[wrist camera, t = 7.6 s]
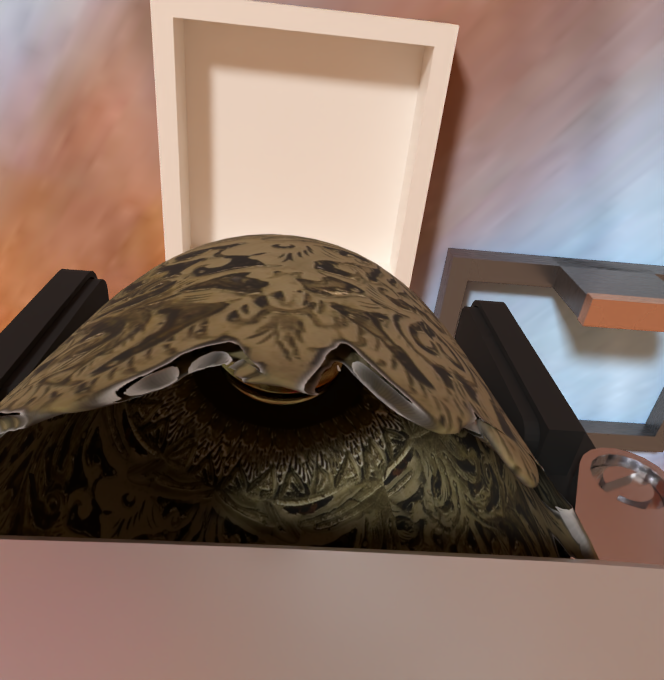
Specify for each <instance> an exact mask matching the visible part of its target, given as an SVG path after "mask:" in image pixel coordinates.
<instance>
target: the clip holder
mask: <svg viewBox="0 0 664 680" xmlns="http://www.w3.org/2000/svg"><path fill="white" fill-rule="evenodd" d="M467 281H478V282H491V283H503V284H516V285H528V286H541V287H553V288H554V289H555V291H556V292H557V293H558V294H559V295H560V297H561V298H562V299H563V300H564V301H565V303H566V304H567V305H568V306H569V307H570V309H571V310H572V311H573V312H574V313H575V315H576V316H577V317H578V319H577V320H578V321H579V322H580V323H581V324H582V326H591V327H604V328H617V329H631V330H644V331H657V332H664V266H656V265H644V264H632V263H620V262H608V261H597V260H585V259H573V258H561V257H549V256H537V255H525V254H513V253H502V252H490V251H478V250H466V249H454V248H448V252H447V257H446V261H445V266H444V270H443V275H442V279H441V284H440V288H439V293H438V297H437V302H436V306H435V311H434V315H435V316H436V317H437V318H438V319H439V320H440V321H441V323H442V324H443V325H444V326H445V327H446V329H447V330H448V331H449V333H450V334H451V335H452V337H454V333H455V329H456V325H457V321H458V317H459V313H460V309H461V305H462V301H463V297H464V293H465V289H466V285H467ZM579 422H580V423H581V425H582V426H583V428H584V429H585V431H586V433H587V435H588V436H589V438H590V439H591V441H592V443H593V444H594V446H595V447H596V448H615V449H620V450H634V451H651V452H663V451H664V388H663V390H662V392H661V394H660V396H659V398H658V400H657V402H656V404H655V406H654V408H653V410H652V412H651V414H650V416H649V418H648V420H647V422H646V424H636V423H620V422H604V421H587V420H579Z"/></svg>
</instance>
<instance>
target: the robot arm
mask: <svg viewBox="0 0 664 680" xmlns="http://www.w3.org/2000/svg"><path fill="white" fill-rule="evenodd" d="M108 301H109V297H108V289H107V284H106V281H105V280H103V279H97V276H96V274H95V273H94V272H93V271H82V270H69V269H61V270H60V271H59V272H58V273H57V274H56V275H55V276H54V277H53V278H52V279H51V280H50V281H49V282H48V283H47V284H46V285H45V286H44V287H43V289H42V290H41V291H40V292H39V293H38V294H37V295H36V296H35V297H34V298H33V299H32V300H31V301H30V302H29V303H28V304H27V306H26V307H25V308H24V309H23V310H22V311H21V312H20V313H19V314H18V315H17V316H16V317H15V318H14V319H13V320H12V321H11V323H10V324H9V325H8V326H7V327H6V328H5V329H4V330H3V331H2V332H1V333H0V402H1V401H2V400H3V399H4V398H5V397H6V396H7V395H8V394H9V393H10V392H11V391H12V390H13V389H14V388H16V387H17V386H18V385H19V384H20V383H21V382H22V381H23V380H24V379H25V378H26V377H27V376H28V375H29V374H30V373H31V372H32V371H33V370H35V369H36V368H37V367H38V366H39V365H40V364H41V363H42V362H43V361H44V360H45V359H46V358H47V357H48V356H49V355H50V354H52V353H53V352H54V351H55V350H56V349H57V348H58V347H59V346H60V345H61V344H62V343H63V342H64V341H65V340H67V339H68V338H69V337H70V336H71V335H72V334H73V333H74V332H75V331H76V330H77V329H78V328H79V327H81V326H82V325H83V324H84V323H85V322H86V321H87V320H88V319H89V318H90V317H91V316H92V315H94V314H95V313H96V312H97V311H98V310H99V309H100V308H101V307H102V306H103V305H105V304H106V303H107V302H108ZM455 340H456V342H457V343H458V345H459V346H460V347H461V349H462V350H463V352H464V353H465V355H466V356H467V358H468V359H469V360H470V362H471V363H472V365H473V366H474V368H475V369H476V371H477V372H478V374H479V375H480V376H481V378H482V379H483V381H484V382H485V384H486V385H487V387H488V388H489V390H490V391H491V393H492V394H493V396H494V397H495V399H496V400H497V402H498V403H499V405H500V406H501V408H502V409H503V411H504V412H505V414H506V415H507V417H508V418H509V420H510V421H511V423H512V424H513V426H514V427H515V429H516V430H517V432H518V433H519V435H520V436H521V438H522V439H523V441H524V442H525V444H526V445H527V447H528V448H529V450H530V451H531V453H532V454H533V456H534V457H535V459H536V460H537V461H538V463H539V464H540V465H541V466H542V468H543V469H544V472H545V473H546V475H547V476H548V478H549V479H550V480H551V482H552V483H553V485H554V486H555V487H556V489H557V490H558V491H559V492H560V494H561V495H562V496H563V497H564V498H565V499H566V500H567V501H568V502H569V503H570V504H571V505H572V507H573V509H574V511H575V512H576V514H577V516H578V518H579V520H580V522H581V524H582V526H583V528H584V530H585V531H586V533H587V535H588V537H589V539H590V541H591V543H592V545H593V547H594V550H595V552H596V553H597V556H598V558H599V560H591V559H575V558H574V557H570V555H569V559H568V558H567V555H566V552H565V550H564V548H563V550H562V551H561V552H560V558H549V557H531V556H511V555H489V554H467V553H446V552H424V551H402V550H380V549H358V548H334V547H309V546H285V545H261V544H235V543H210V542H185V541H159V540H130V539H102V538H73V537H44V536H16V535H0V680H664V471H663V470H661V469H660V468H659V467H658V466H656V465H655V464H653V463H651V462H650V461H648V460H646V459H645V458H643V457H640V456H638V455H636V454H633V453H631V452H628V451H624V450H620V449H615V448H597V449H596V447H595V446H594V444H593V443H592V441H591V439H590V438H589V436H588V435H587V433H586V431H585V429H584V428H583V426H582V425H581V423H580V422H579V420H578V418H577V417H576V415H575V414H574V412H573V410H572V409H571V407H570V406H569V404H568V403H567V401H566V399H565V398H564V396H563V395H562V393H561V391H560V390H559V388H558V387H557V385H556V384H555V382H554V380H553V379H552V377H551V376H550V374H549V372H548V371H547V369H546V368H545V366H544V365H543V363H542V361H541V360H540V358H539V357H538V355H537V353H536V352H535V350H534V349H533V347H532V345H531V344H530V342H529V341H528V339H527V338H526V336H525V334H524V333H523V331H522V330H521V328H520V326H519V325H518V323H517V322H516V320H515V319H514V317H513V315H512V314H511V312H510V311H509V309H508V307H507V306H506V304H505V303H504V302H494V301H481V300H475V301H474V302H473V303H472V305H471V307H467V306H465V307H464V308H463V309H462V312H461V315H460V319H459V323H458V327H457V331H456V335H455ZM28 473H29V472H28ZM29 481H30V484H31V488H32V491H33V495H34V498H35V501H36V498H37V493H36V485H35V477H34V474H32V473H29Z"/></svg>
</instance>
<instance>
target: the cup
mask: <svg viewBox="0 0 664 680" xmlns="http://www.w3.org/2000/svg"><path fill="white" fill-rule="evenodd" d="M28 472H29V473H32V474H34V477H35V485H36V493H37V498H36V501H35V498H34V495H33V491H32V488H31V484H30V481H29V473H28ZM0 535H16V536H44V537H73V538H102V539H130V540H159V541H185V542H210V543H235V544H261V545H285V546H309V547H334V548H358V549H380V550H402V551H424V552H446V553H467V554H489V555H511V556H531V557H549V558H560V552H561V551H562V550H563V548H564V550H565V552H566V555H567V558H568V559H569V555H570V557H574V558H575V559H591V560H599V558H598V556H597V553H596V552H595V550H594V547H593V545H592V543H591V541H590V539H589V537H588V535H587V533H586V531H585V530H584V528H583V526H582V524H581V522H580V520H579V518H578V516H577V514H576V512H575V511H574V509H573V507H572V505H571V504H570V503H569V502H568V501H567V500H566V499H565V498H564V497H563V496H562V495H561V494H560V492H559V491H558V490H557V489H556V487H555V486H554V485H553V483H552V482H551V480H550V479H549V478H548V476H547V475H546V473H545V472H544V469H543V468H542V466H541V465H540V464H539V463H538V461H537V460H536V459H535V457H534V456H533V454H532V453H531V451H530V450H529V448H528V447H527V445H526V444H525V442H524V441H523V439H522V438H521V436H520V435H519V433H518V432H517V430H516V429H515V427H514V426H513V424H512V423H511V421H510V420H509V418H508V417H507V415H506V414H505V412H504V411H503V409H502V408H501V406H500V405H499V403H498V402H497V400H496V399H495V397H494V396H493V394H492V393H491V391H490V390H489V388H488V387H487V385H486V384H485V382H484V381H483V379H482V378H481V376H480V375H479V374H478V372H477V371H476V369H475V368H474V366H473V365H472V363H471V362H470V360H469V359H468V358H467V356H466V355H465V353H464V352H463V350H462V349H461V347H460V346H459V345H458V343H457V342H456V340H455V339H454V338H453V337H452V335H451V334H450V333H449V331H448V330H447V329H446V327H445V326H444V325H443V324H442V323H441V321H440V320H439V319H438V318H437V317H436V316H435V315H434V313H433V312H432V311H431V310H430V309H429V308H428V307H427V306H426V304H425V303H424V302H423V301H422V300H421V299H420V298H419V297H418V296H417V295H416V294H415V293H414V292H413V291H411V290H410V289H409V288H408V287H407V286H406V285H405V284H404V283H403V282H401V281H400V280H399V279H397V278H396V277H395V276H393V275H392V274H390V273H389V272H388V271H386V270H385V269H383V268H382V267H380V266H379V265H378V264H376V263H374V262H372V261H371V260H369V259H367V258H365V257H363V256H361V255H359V254H358V253H355V252H353V251H350V250H348V249H345V248H343V247H340V246H338V245H335V244H331V243H328V242H324V241H320V240H317V239H312V238H306V237H300V236H294V235H280V234H259V235H245V236H238V237H232V238H226V239H222V240H218V241H214V242H211V243H207V244H204V245H201V246H199V247H196V248H194V249H191V250H189V251H186V252H184V253H182V254H179V255H177V256H175V257H173V258H171V259H169V260H167V261H165V262H164V263H162V264H160V265H158V266H156V267H154V268H153V269H151V270H150V271H148V272H147V273H146V274H144V275H143V276H141V277H140V278H138V279H137V280H136V281H134V282H133V283H131V284H130V285H129V286H127V287H126V288H124V289H123V290H122V291H120V292H119V293H118V294H117V295H115V296H114V297H113V298H112V299H111V300H109V301H108V302H107V303H106V304H105V305H103V306H102V307H101V308H100V309H99V310H98V311H97V312H96V313H95V314H94V315H92V316H91V317H90V318H89V319H88V320H87V321H86V322H85V323H84V324H83V325H82V326H81V327H79V328H78V329H77V330H76V331H75V332H74V333H73V334H72V335H71V336H70V337H69V338H68V339H67V340H65V341H64V342H63V343H62V344H61V345H60V346H59V347H58V348H57V349H56V350H55V351H54V352H53V353H52V354H50V355H49V356H48V357H47V358H46V359H45V360H44V361H43V362H42V363H41V364H40V365H39V366H38V367H37V368H36V369H35V370H33V371H32V372H31V373H30V374H29V375H28V376H27V377H26V378H25V379H24V380H23V381H22V382H21V383H20V384H19V385H18V386H17V387H16V388H14V389H13V390H12V391H11V392H10V393H9V394H8V395H7V396H6V397H5V398H4V399H3V400H2V401H1V402H0Z"/></svg>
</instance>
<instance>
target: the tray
mask: <svg viewBox="0 0 664 680" xmlns="http://www.w3.org/2000/svg"><path fill="white" fill-rule="evenodd" d="M150 7H151V23H152V40H153V57H154V74H155V90H156V107H157V124H158V140H159V157H160V174H161V191H162V207H163V224H164V241H165V258H166V261H167V260H169V259H171V258H173V257H175V256H177V255H179V254H182V253H184V252H186V251H189V250H191V249H194V248H196V247H199V246H201V245H204V244H207V243H211V242H214V241H218V240H222V239H226V238H232V237H238V236H245V235H259V234H280V235H294V236H300V237H306V238H312V239H317V240H320V241H324V242H328V243H331V244H335V245H338V246H340V247H343V248H345V249H348V250H350V251H353V252H355V253H358V254H359V255H361V256H363V257H365V258H367V259H369V260H371V261H372V262H374V263H376V264H378V265H379V266H380V267H382V268H383V269H385V270H386V271H388V272H389V273H390V274H392V275H393V276H395V277H396V278H397V279H399V280H400V281H401V282H403V283H404V284H405V285H406V286H407V287H408V288H409V287H410V282H411V277H412V271H413V266H414V261H415V256H416V250H417V245H418V240H419V235H420V229H421V224H422V219H423V214H424V208H425V203H426V198H427V193H428V187H429V182H430V177H431V172H432V166H433V161H434V156H435V151H436V145H437V140H438V135H439V129H440V124H441V119H442V114H443V108H444V103H445V98H446V93H447V87H448V82H449V77H450V72H451V66H452V61H453V56H454V51H455V45H456V40H457V35H458V30H459V25H454V24H448V23H441V22H432V21H424V20H415V19H406V18H398V17H389V16H380V15H372V14H363V13H354V12H346V11H337V10H328V9H320V8H311V7H302V6H294V5H285V4H277V3H268V2H259V1H251V0H150Z"/></svg>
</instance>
